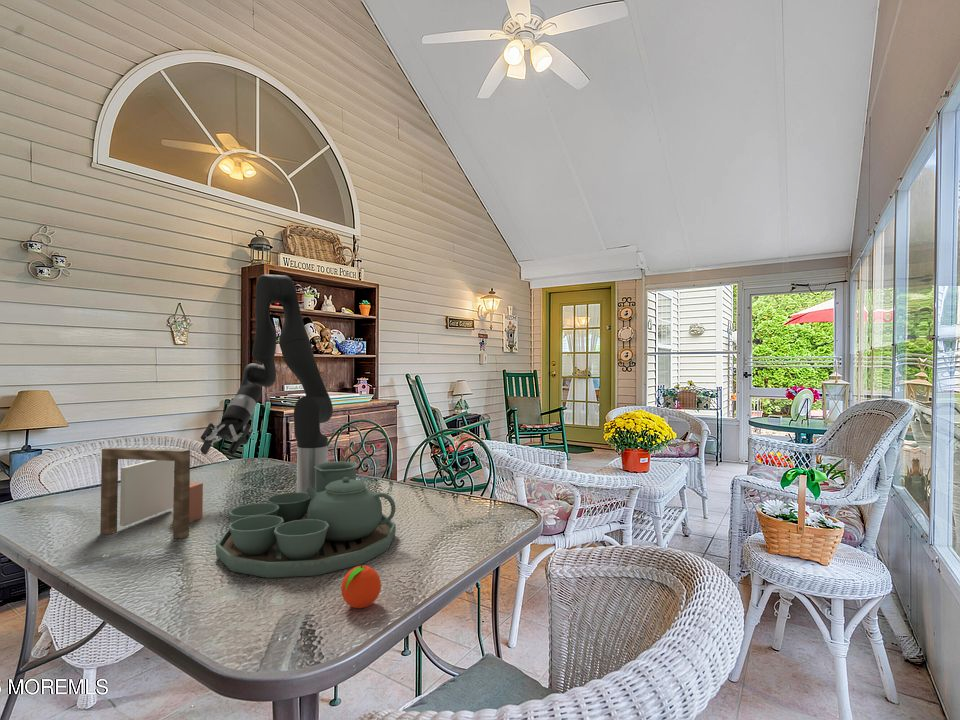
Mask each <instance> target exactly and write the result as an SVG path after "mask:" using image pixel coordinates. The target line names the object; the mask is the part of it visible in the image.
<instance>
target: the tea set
mask: <svg viewBox="0 0 960 720" xmlns="http://www.w3.org/2000/svg"><path fill="white" fill-rule="evenodd" d="M358 467H359V463H357V462H353V461H328V462H327V463H321V464H317V465H316V466H314V468H315V469H316V491H315V490H314V489H313V488H312V487H311V486H310V487H309V488H308V489H307V492H308V494H307V493H299V492H297V491H296V492H285V493H284V492H283V493H278V494H274V495H272V496H269V497H267V499H266V500H265V502H258V503H249V504H244V505H243V504H242V505H239V506H236V507H234V508H232V509H230V510H229V511H228V515H229V517H230V520H231V523H230V524H229V525H228V526H227V527H228V529H227V530H225V532H224V533H223V535H222V536H221V537H220V539H219V540H218V541H217V542H216V544H215V554H216V556H217V558H218V559H219V560H220V561H221V562H222V563H223V564H224V565H225V566H226V567H227V568H228V569H229V570H230V571H231V572H234V573H239V574H245V575H250V576H256V577H262V578H266V579H273V578H290V577H291V578H292V577H293V578H294V577H312V576H320V575H323V574H327V573H332V572H336V571H340V570H341V571H342V570H344V569H349V568H354V567H357V566H362V565H363V564H365V563H366V562H368V561H371V560H372V559H374V558H375V557H377V556H380V555H381V554H383V553H384V552H385V553H386V552H387V551H388V550H389V548H390V545H391V543H392V540H393V539H394V536H395V534H396V531H397V527H396V526H397V525H396V523H395V521H392V519H393V518H394V516H395V514H396V509H397V508H396V503H395V500H394V499H393V498H392V495H389V494H388V493H386V492H378V493H375V492H374V491H373V490H371V489H368V488H366V487H367V484H366V483H365V482H364V481H362V480H360V479H357V468H358ZM380 498H384V499H385V500H387V501H388V503H389V505H390V507H391V508H390V514H388V516H387V515H386V514H384V513H383V508H382V507H383V506H382V501H381V500H382V499H380ZM310 500H311V503H310Z"/></svg>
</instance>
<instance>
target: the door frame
mask: <svg viewBox="0 0 960 720" xmlns="http://www.w3.org/2000/svg"><path fill="white" fill-rule="evenodd" d="M119 460H136V461H140V460H141V461H151V460H164V461H174V494H173V498H174V517H173V516H172V518H173V519H172V520H173V521H172V523H173V527H172V529H173V530H172V531H173V532H172V533H173V534H172V537H173V538H172V539H184V538H186V537H188V536H189V535H190V522H189V497H190V483H191V481H190V480H191V479H190V478H191V477H190V476H191V449H181V448H180V449H175V448H171V449H170V448H141V447H139V448H137V447H112V446H111V447H106V448H102V449H101V465H100V466H101V469H100V470H101V472H100V474H101V477H100V479H101V480H100V483H101V484H100V533H99V534H100V535H108V534H109V535H112V534H114V533H117V532H118V502H119V501H118V497H119V495H118V494H119V493H118V491H119V489H118V488H119V487H118V486H119ZM116 531H117V532H116ZM113 532H114V533H113ZM111 533H112V534H111Z"/></svg>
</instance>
